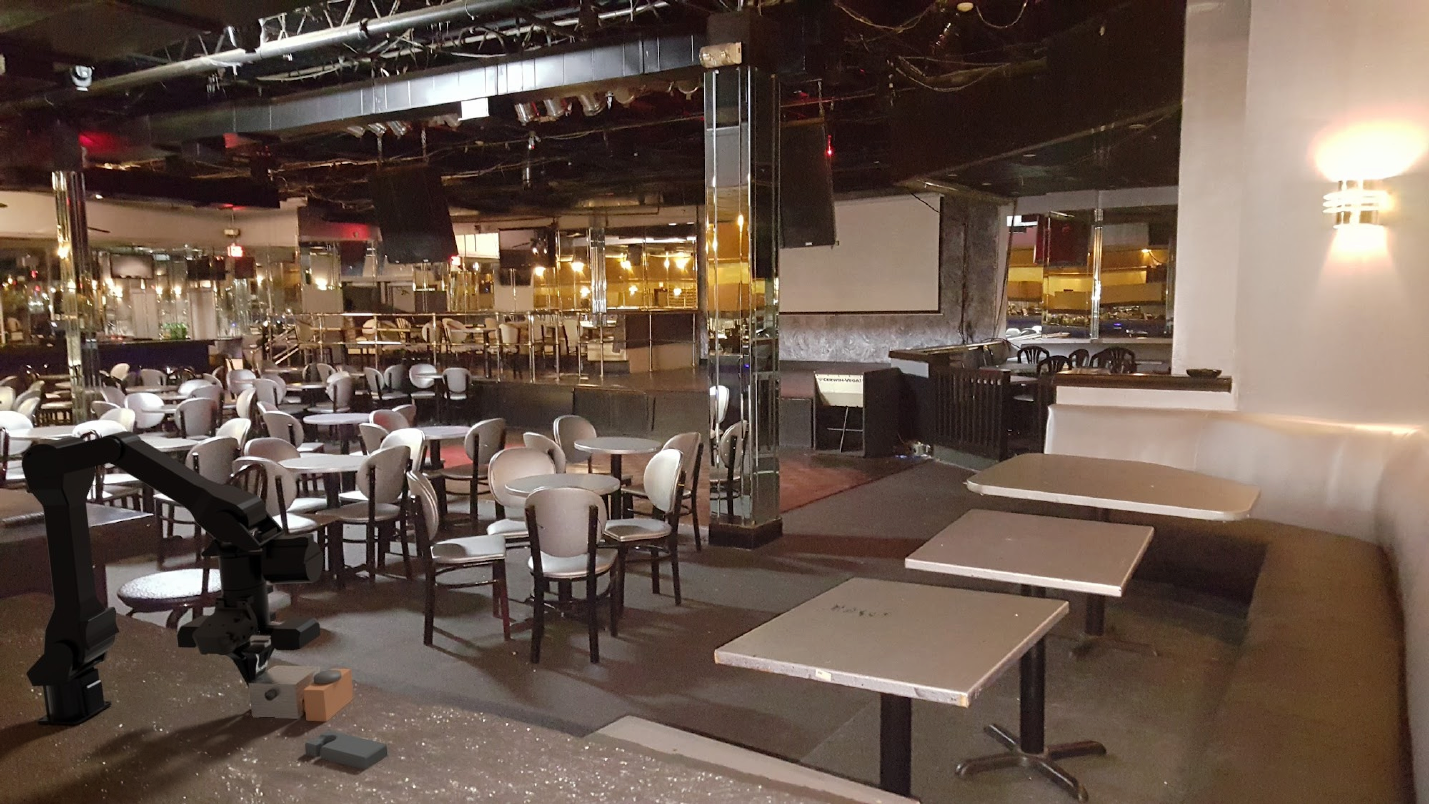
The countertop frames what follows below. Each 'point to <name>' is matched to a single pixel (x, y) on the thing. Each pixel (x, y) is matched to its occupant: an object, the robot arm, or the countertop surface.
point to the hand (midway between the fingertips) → (254, 689)
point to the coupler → (327, 694)
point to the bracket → (346, 749)
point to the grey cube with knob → (281, 691)
